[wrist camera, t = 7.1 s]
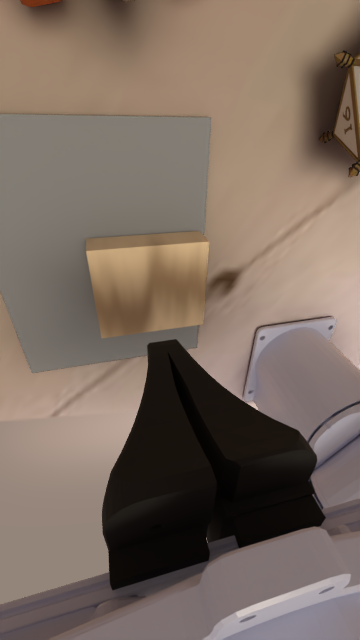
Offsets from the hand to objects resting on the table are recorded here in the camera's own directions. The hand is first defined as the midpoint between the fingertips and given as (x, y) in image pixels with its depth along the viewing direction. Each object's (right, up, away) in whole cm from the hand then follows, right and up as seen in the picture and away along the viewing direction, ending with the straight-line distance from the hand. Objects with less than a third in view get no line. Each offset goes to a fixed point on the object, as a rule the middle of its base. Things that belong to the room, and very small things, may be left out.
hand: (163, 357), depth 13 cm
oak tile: (-5, +4, +5) cm, 8 cm away
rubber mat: (-4, +5, +6) cm, 9 cm away
